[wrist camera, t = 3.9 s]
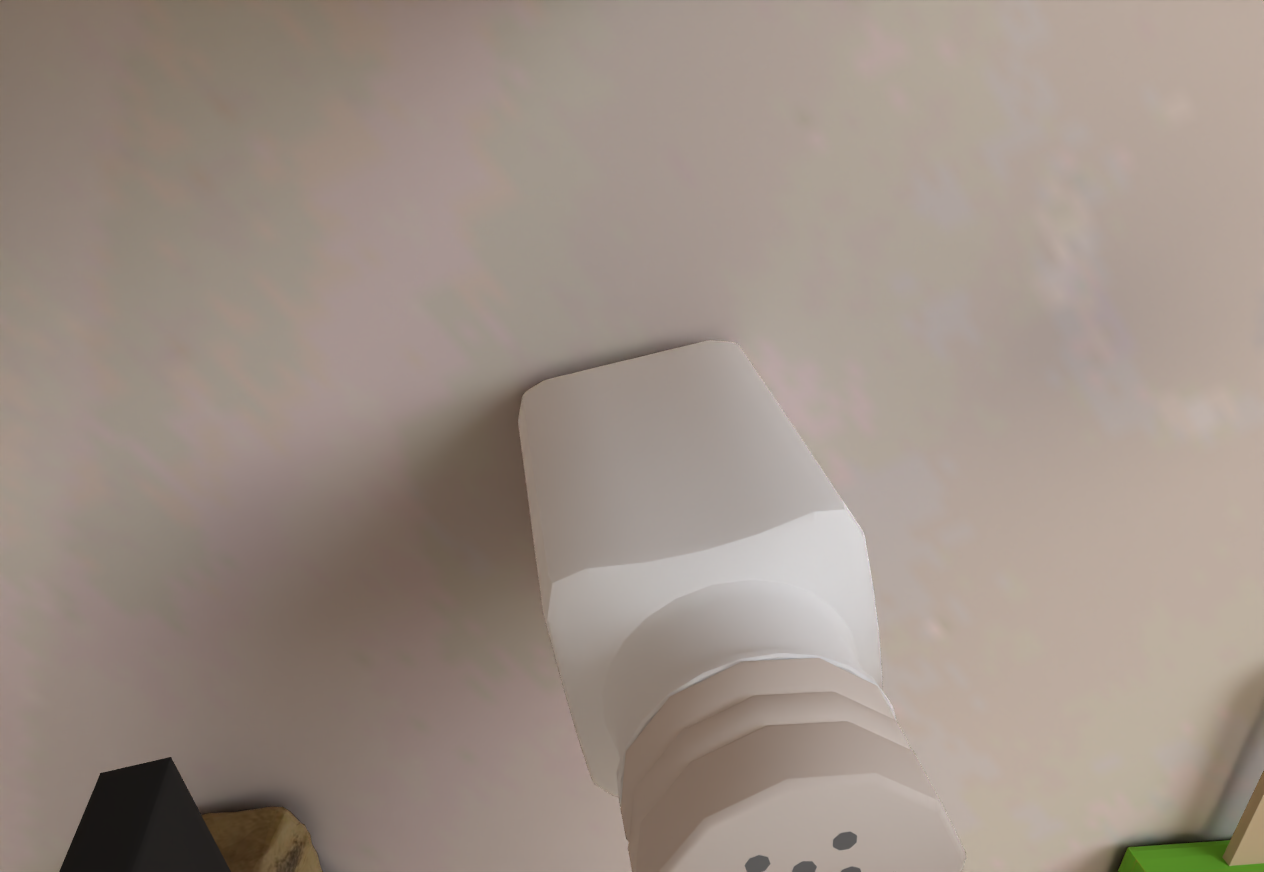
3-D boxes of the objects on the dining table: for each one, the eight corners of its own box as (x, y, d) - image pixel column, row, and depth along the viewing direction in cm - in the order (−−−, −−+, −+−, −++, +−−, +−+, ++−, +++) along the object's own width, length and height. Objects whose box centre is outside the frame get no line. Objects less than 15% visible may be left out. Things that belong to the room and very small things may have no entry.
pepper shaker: (738, 318, 17) (1005, 696, 9) (768, 514, 19) (1011, 976, 11) (507, 374, 17) (560, 813, 9) (560, 566, 19) (644, 1078, 11)
